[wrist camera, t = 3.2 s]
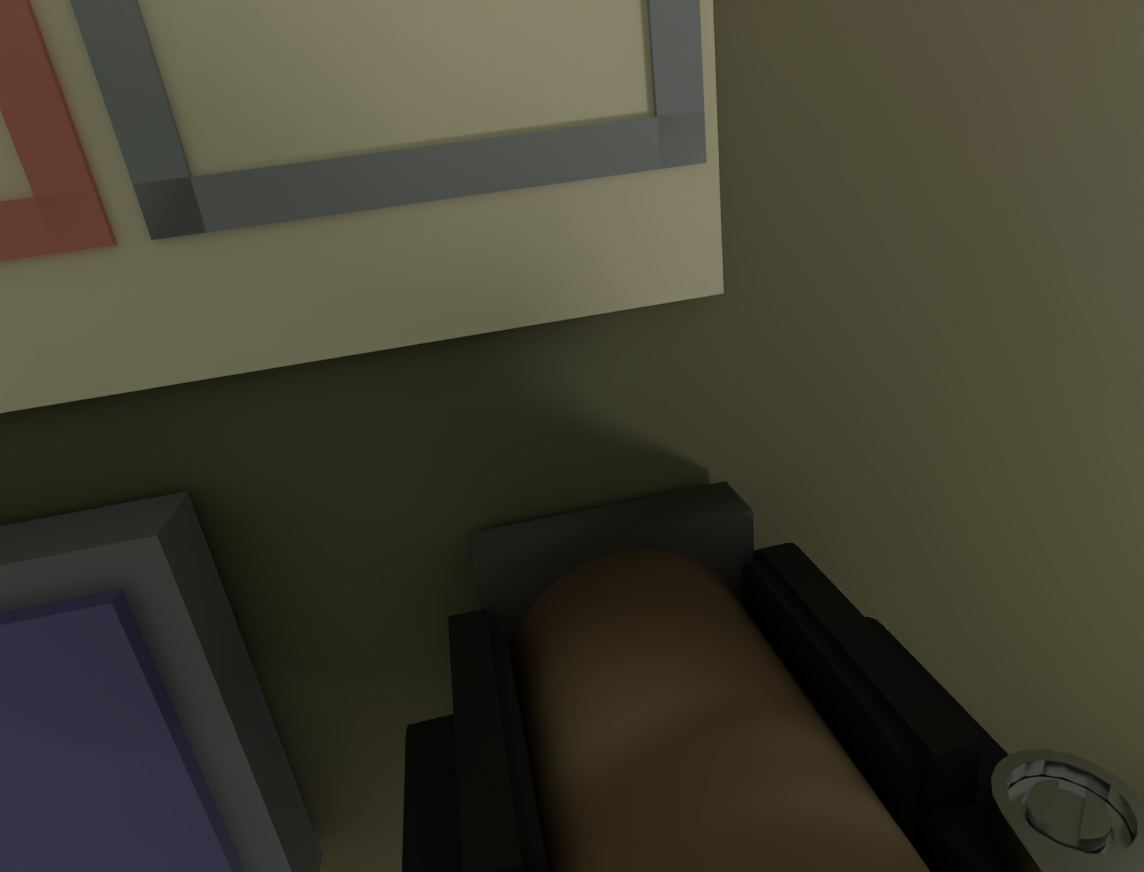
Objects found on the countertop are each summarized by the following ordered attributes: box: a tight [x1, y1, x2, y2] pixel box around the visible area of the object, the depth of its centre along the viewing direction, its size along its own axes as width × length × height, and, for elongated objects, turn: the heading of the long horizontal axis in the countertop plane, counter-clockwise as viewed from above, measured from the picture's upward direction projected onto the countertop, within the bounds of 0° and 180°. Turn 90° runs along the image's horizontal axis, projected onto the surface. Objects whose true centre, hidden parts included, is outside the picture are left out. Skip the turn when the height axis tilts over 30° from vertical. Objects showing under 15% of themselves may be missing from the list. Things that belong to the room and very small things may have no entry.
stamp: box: [470, 481, 930, 872], centre depth 8 cm, size 4×4×8 cm
